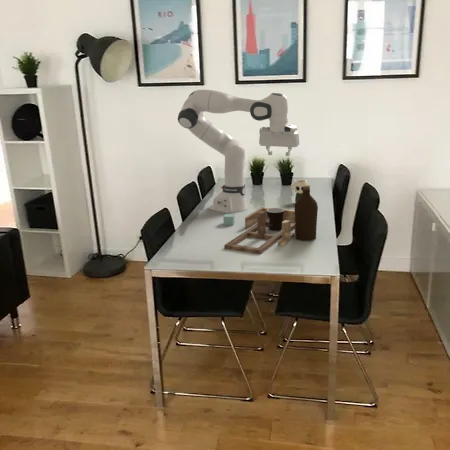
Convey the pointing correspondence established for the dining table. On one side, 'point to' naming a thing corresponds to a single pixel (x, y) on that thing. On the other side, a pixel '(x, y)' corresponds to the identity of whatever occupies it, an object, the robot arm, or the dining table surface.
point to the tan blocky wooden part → (286, 233)
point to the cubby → (252, 218)
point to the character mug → (299, 187)
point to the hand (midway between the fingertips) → (278, 155)
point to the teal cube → (229, 219)
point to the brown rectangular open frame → (256, 236)
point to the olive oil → (306, 216)
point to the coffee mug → (275, 218)
